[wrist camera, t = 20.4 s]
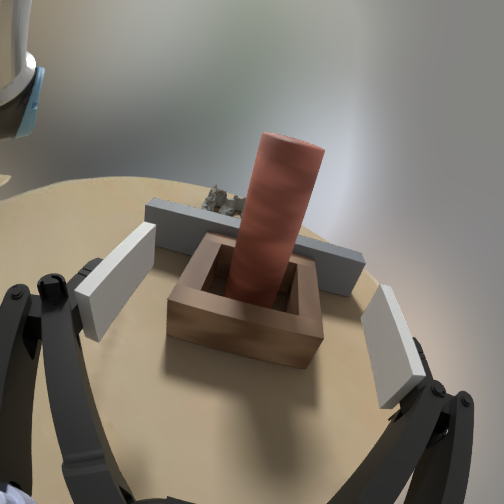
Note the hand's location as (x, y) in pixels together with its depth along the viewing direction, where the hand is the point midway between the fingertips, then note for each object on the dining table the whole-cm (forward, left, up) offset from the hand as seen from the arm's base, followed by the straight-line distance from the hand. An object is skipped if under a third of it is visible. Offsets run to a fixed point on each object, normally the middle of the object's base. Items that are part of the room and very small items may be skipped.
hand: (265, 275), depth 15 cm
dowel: (0, +9, -10) cm, 13 cm away
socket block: (0, +8, -10) cm, 13 cm away
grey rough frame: (-6, +26, -10) cm, 29 cm away
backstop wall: (-1, +16, -10) cm, 18 cm away
